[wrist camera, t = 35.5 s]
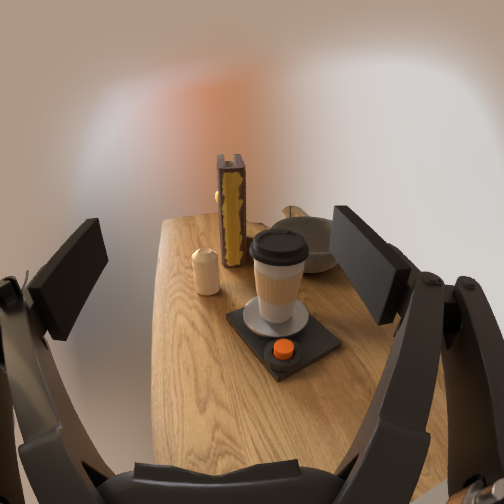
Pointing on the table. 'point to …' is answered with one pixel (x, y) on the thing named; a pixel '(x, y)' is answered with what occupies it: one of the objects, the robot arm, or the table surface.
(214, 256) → the candle
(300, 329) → the scale pan
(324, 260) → the bowl
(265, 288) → the coffee cup
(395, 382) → the robot arm
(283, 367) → the scale
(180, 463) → the table surface
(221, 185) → the book
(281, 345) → the tare button
